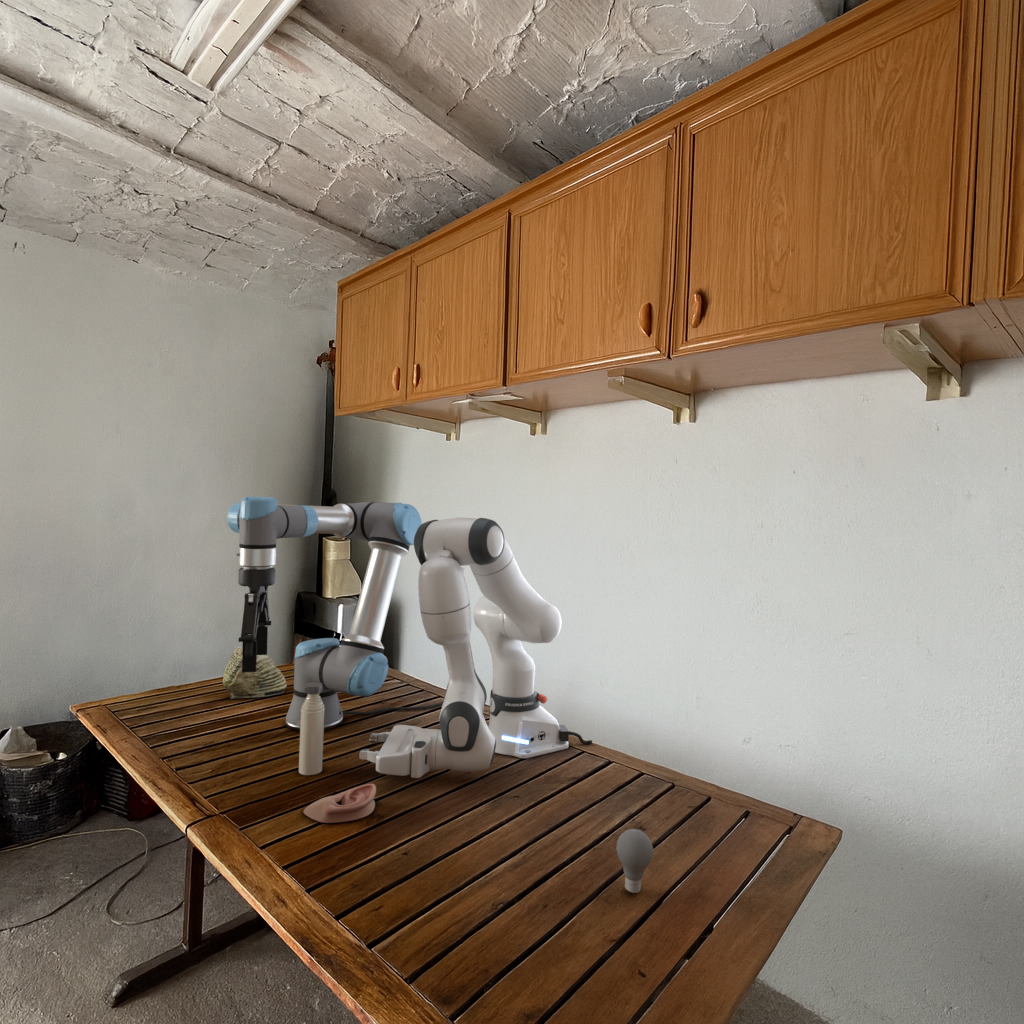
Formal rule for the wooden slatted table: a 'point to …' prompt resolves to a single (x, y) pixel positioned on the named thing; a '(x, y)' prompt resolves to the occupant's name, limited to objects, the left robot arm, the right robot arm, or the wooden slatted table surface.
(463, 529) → the right robot arm
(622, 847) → the light bulb
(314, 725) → the bottle
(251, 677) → the fossil
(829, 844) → the wooden slatted table surface
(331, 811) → the anatomical model
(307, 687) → the cap
